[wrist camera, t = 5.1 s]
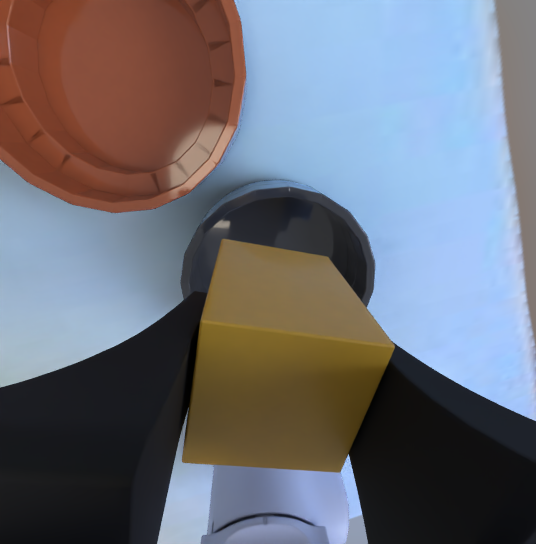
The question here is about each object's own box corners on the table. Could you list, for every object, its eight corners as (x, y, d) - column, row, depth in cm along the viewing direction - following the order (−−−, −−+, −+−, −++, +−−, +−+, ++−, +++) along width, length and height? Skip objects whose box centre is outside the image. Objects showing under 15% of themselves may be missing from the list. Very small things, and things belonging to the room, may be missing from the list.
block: (328, 256, 12) (396, 345, 7) (302, 343, 14) (340, 474, 8) (221, 238, 12) (200, 320, 6) (208, 331, 13) (181, 463, 8)
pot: (383, 234, 20) (414, 253, 17) (296, 349, 23) (305, 387, 20) (243, 143, 17) (242, 142, 14) (166, 289, 21) (149, 320, 17)
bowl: (286, 41, 16) (300, 3, 11) (187, 232, 19) (171, 255, 15) (50, -143, 13) (-46, -286, 8) (-15, 125, 16) (-104, 117, 12)
